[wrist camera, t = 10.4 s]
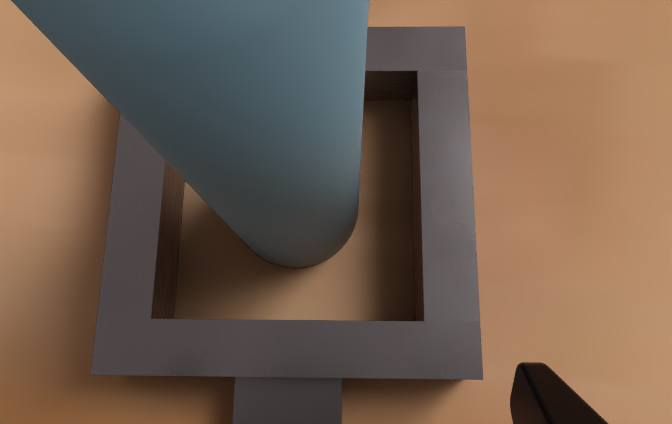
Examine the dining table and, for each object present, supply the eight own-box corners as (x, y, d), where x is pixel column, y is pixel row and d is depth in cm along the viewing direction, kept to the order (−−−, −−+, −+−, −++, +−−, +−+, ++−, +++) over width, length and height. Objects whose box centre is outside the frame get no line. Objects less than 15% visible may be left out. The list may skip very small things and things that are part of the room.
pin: (307, 293, 17) (193, 137, 5) (210, 219, 18) (-115, -90, 5) (382, 194, 18) (456, -169, 6) (286, 126, 19) (153, -335, 6)
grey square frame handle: (486, 784, 14) (515, 878, 12) (79, 772, 14) (23, 860, 12) (442, -173, 22) (454, -242, 19) (174, -169, 22) (152, -237, 19)
